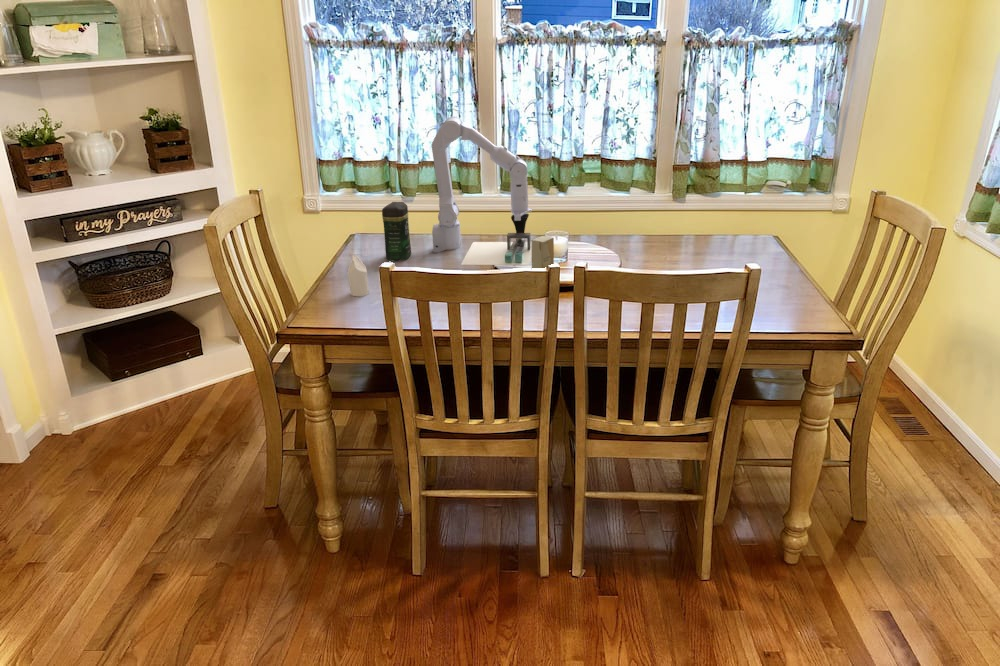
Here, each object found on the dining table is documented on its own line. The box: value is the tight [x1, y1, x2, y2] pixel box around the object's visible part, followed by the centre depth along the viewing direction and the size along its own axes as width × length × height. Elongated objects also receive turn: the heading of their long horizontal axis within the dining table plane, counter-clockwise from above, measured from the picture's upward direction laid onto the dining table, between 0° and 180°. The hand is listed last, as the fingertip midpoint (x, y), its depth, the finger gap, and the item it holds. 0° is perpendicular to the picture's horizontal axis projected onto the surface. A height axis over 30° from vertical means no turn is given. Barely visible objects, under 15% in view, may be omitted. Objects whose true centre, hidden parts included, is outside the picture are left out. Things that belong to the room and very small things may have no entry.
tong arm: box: [505, 240, 517, 262], centre depth 259 cm, size 16×2×2 cm, turn 171°
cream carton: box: [347, 254, 370, 297], centre depth 233 cm, size 6×12×6 cm
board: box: [460, 241, 532, 266], centre depth 263 cm, size 22×25×1 cm
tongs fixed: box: [515, 238, 527, 262], centre depth 261 cm, size 20×4×2 cm, turn 173°
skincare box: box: [531, 235, 555, 269], centre depth 240 cm, size 6×4×12 cm
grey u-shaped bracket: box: [506, 232, 532, 250], centre depth 265 cm, size 3×8×5 cm, turn 83°
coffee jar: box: [381, 201, 412, 262], centre depth 262 cm, size 10×8×19 cm
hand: (520, 235), depth 269 cm, fingers closed
